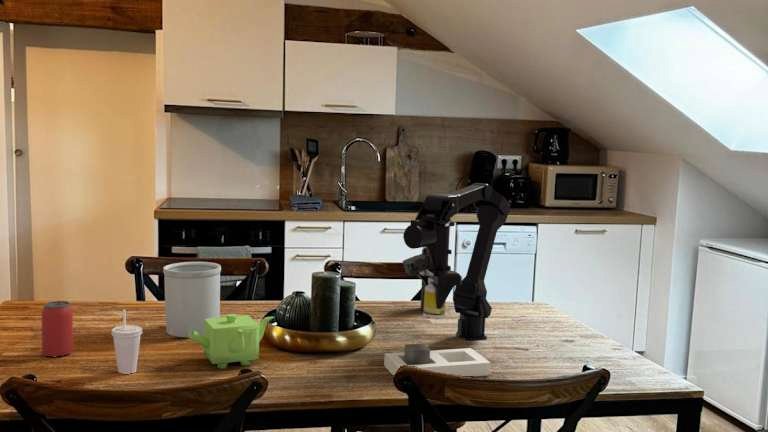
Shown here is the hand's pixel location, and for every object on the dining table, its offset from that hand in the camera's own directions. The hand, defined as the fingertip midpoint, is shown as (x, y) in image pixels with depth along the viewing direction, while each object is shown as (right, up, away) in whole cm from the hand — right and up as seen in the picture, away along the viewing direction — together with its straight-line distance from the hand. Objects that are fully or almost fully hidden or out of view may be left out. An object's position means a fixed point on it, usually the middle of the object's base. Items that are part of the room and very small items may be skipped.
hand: (434, 305), depth 176 cm
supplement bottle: (0, -3, 0) cm, 3 cm away
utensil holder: (-64, -8, +10) cm, 65 cm away
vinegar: (+2, -7, +43) cm, 43 cm away
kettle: (-48, -12, -14) cm, 51 cm away
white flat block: (-1, -13, -14) cm, 20 cm away
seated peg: (-5, -13, -16) cm, 21 cm away
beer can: (-89, -10, -13) cm, 91 cm away
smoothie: (-69, -12, -23) cm, 74 cm away
